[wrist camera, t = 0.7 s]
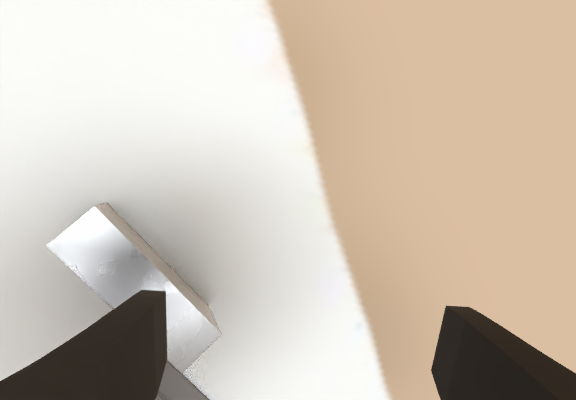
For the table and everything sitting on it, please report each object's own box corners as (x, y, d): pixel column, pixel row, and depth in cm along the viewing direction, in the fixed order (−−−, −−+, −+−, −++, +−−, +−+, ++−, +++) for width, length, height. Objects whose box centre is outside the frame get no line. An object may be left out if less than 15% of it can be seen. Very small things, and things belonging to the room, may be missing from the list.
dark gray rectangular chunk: (176, 336, 28) (182, 373, 23) (69, 234, 26) (45, 245, 20) (208, 305, 29) (221, 333, 23) (107, 202, 27) (94, 205, 21)
